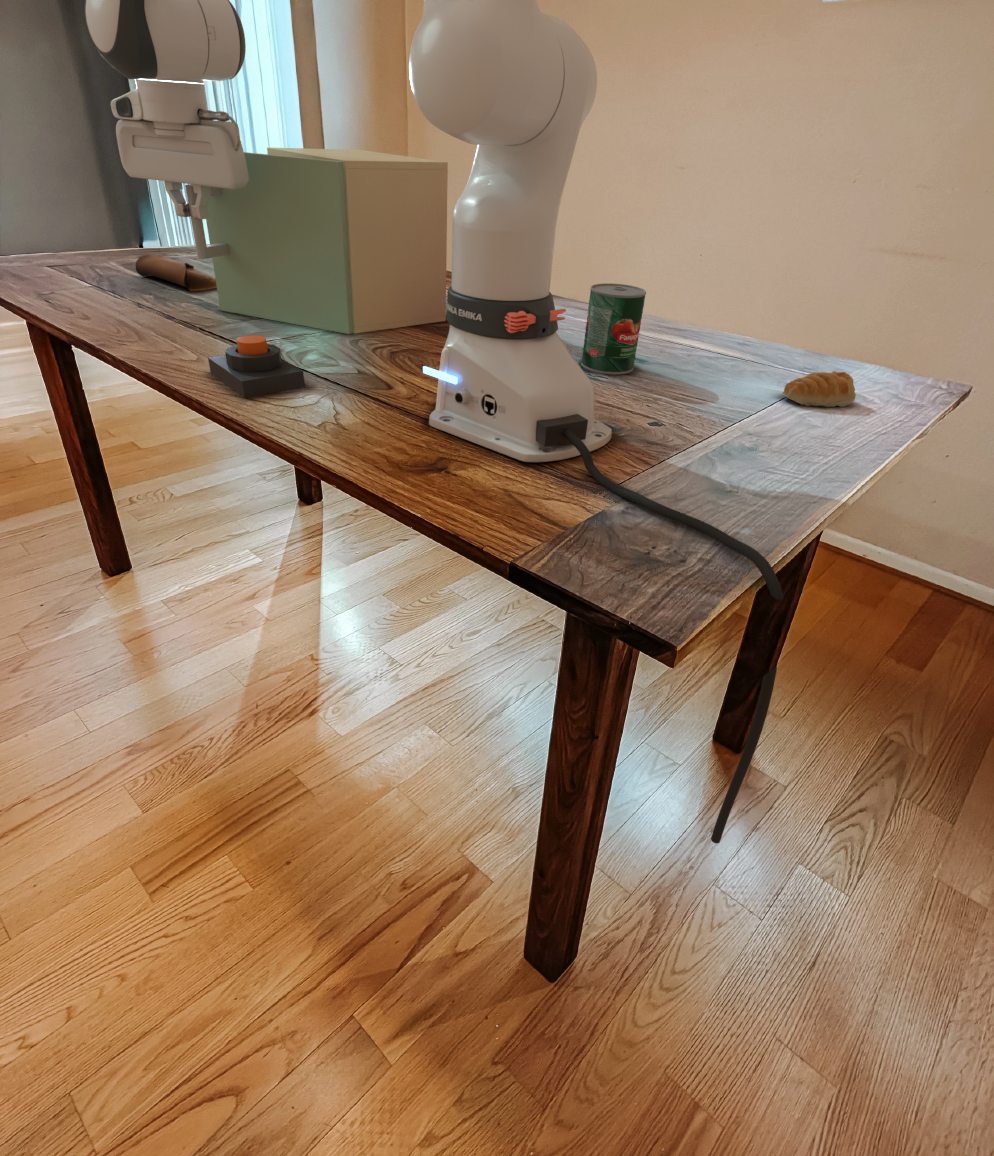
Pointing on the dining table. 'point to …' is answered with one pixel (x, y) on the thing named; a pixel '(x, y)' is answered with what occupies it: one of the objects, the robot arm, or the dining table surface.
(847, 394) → the pastry
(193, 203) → the cupboard door
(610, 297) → the canned tomato
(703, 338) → the dining table surface
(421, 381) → the dining table surface
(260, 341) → the button
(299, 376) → the control block
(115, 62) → the robot arm
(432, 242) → the cupboard
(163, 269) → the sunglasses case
